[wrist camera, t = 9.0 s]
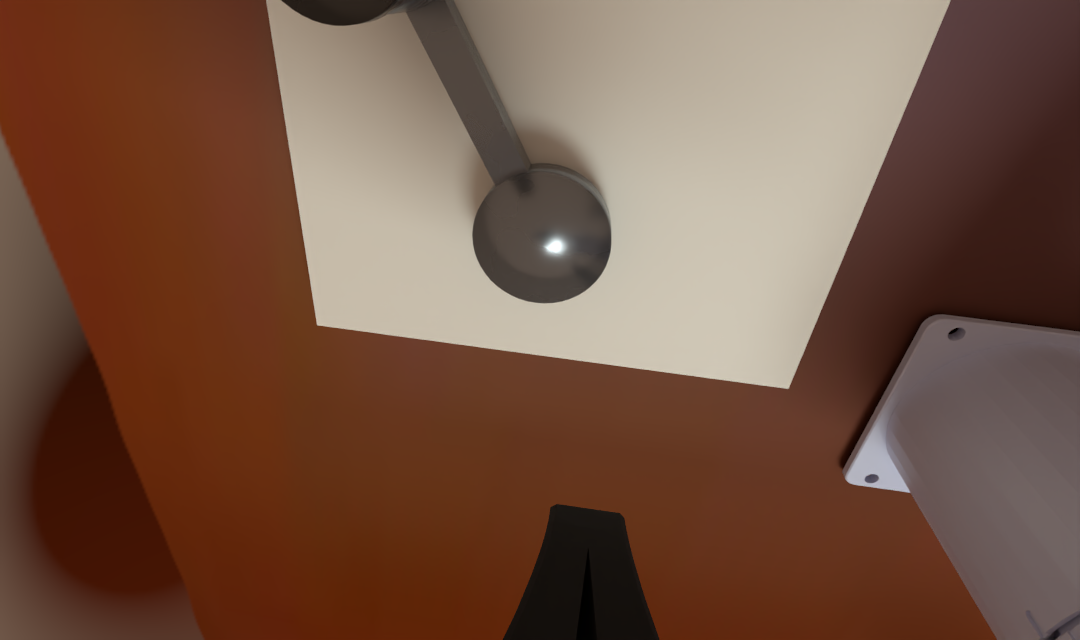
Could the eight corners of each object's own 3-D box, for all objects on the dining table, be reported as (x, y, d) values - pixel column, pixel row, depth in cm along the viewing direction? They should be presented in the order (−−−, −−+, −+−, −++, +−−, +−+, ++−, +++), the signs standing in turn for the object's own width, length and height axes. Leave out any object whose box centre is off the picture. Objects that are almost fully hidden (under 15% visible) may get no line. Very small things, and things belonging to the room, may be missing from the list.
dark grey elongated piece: (631, 262, 17) (636, 336, 13) (515, 304, 18) (492, 383, 14) (438, -193, 12) (361, -271, 8) (297, -90, 13) (176, -119, 9)
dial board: (1062, -365, 11) (1131, -419, 9) (777, 363, 20) (790, 392, 19) (238, -418, 12) (186, -475, 10) (334, 304, 21) (314, 328, 20)
